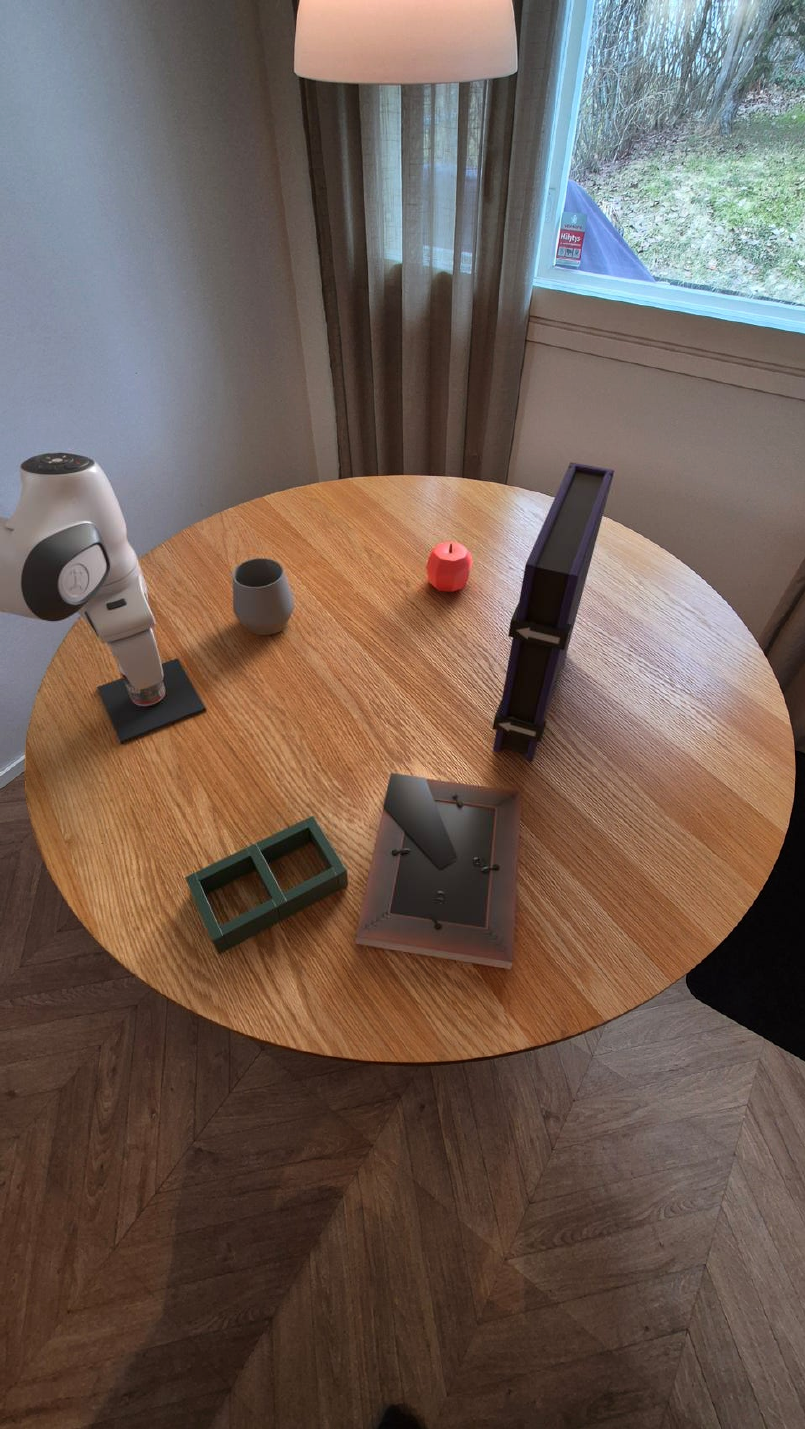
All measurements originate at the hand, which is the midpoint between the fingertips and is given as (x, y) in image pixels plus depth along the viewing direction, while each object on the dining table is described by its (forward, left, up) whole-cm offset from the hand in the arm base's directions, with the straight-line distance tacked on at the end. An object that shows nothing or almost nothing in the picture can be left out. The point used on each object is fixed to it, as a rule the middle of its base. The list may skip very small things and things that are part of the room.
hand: (138, 668), depth 90 cm
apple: (+52, +1, -6) cm, 53 cm away
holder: (+3, -36, -6) cm, 37 cm away
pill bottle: (0, 0, -5) cm, 5 cm away
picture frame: (+21, -44, -6) cm, 49 cm away
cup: (+21, +7, -6) cm, 23 cm away
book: (+47, -28, -6) cm, 55 cm away
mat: (0, 0, -6) cm, 6 cm away
